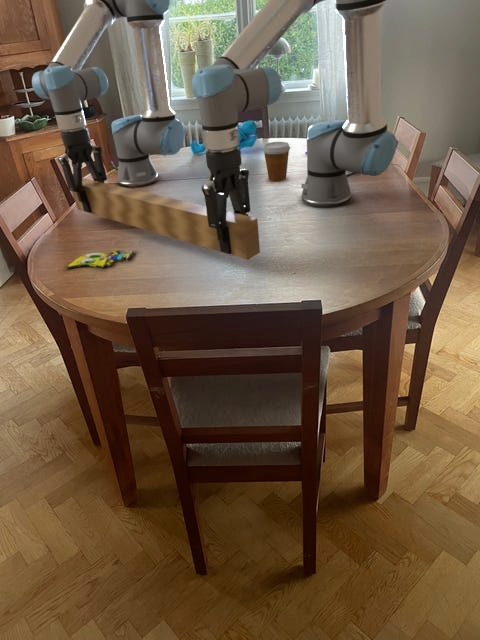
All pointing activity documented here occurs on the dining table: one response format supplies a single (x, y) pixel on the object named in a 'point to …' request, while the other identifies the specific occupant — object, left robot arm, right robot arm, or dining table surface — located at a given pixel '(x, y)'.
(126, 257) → the toy
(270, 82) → the right robot arm
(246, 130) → the toy
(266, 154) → the disposable coffee cup
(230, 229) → the post
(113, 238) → the dining table surface
